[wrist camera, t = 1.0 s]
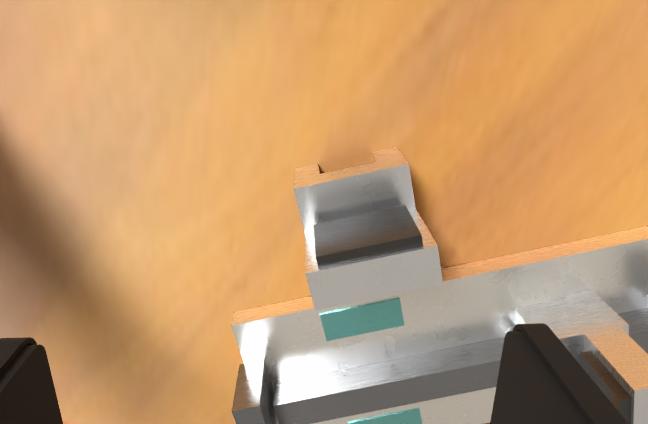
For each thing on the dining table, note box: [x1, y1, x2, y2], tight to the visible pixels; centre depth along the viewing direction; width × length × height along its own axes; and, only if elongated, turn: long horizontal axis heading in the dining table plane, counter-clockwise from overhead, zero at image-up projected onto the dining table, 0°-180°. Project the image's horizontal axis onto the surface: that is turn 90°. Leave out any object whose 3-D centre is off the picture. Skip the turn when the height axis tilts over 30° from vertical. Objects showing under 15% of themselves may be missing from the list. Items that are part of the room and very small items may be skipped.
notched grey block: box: [294, 147, 443, 311], centre depth 26 cm, size 5×6×8 cm
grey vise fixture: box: [231, 226, 648, 424], centre depth 29 cm, size 29×12×10 cm, turn 102°
